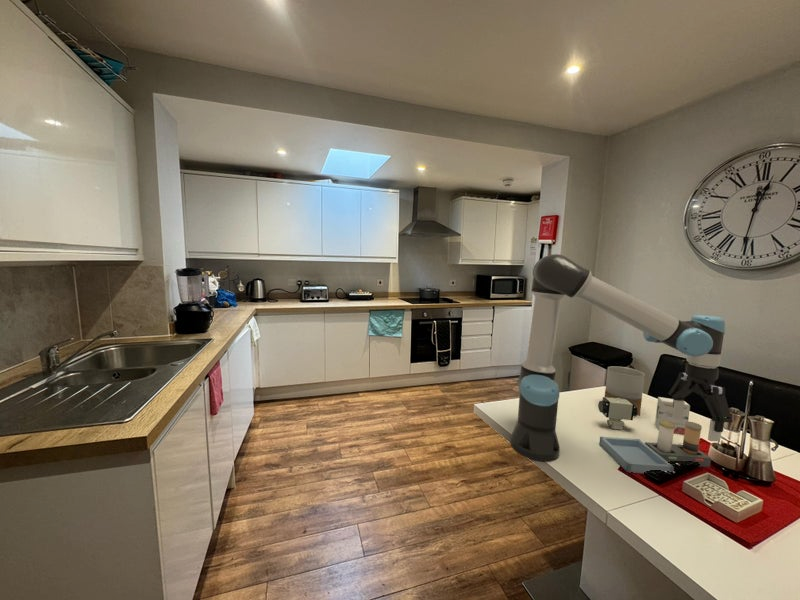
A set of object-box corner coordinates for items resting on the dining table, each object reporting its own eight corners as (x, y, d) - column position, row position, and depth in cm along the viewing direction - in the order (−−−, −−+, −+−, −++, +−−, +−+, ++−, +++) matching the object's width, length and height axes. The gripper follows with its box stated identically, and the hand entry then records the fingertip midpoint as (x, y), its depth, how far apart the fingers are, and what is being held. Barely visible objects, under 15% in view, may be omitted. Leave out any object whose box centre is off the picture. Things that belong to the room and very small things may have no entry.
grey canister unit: (604, 401, 146) (608, 364, 144) (639, 409, 138) (644, 370, 136) (602, 411, 135) (607, 371, 133) (640, 420, 128) (645, 378, 126)
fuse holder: (660, 464, 99) (661, 455, 99) (643, 450, 106) (645, 442, 106) (710, 467, 98) (712, 458, 98) (690, 453, 105) (692, 445, 105)
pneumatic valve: (635, 432, 118) (639, 402, 117) (601, 428, 120) (604, 398, 119) (627, 425, 123) (631, 396, 122) (595, 421, 126) (598, 392, 124)
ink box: (681, 429, 122) (685, 400, 121) (686, 435, 117) (691, 405, 116) (653, 424, 125) (657, 395, 124) (657, 429, 121) (661, 400, 120)
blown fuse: (687, 462, 100) (692, 427, 99) (677, 455, 104) (682, 421, 103) (699, 463, 100) (705, 427, 99) (689, 456, 104) (694, 421, 103)
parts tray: (627, 472, 94) (628, 463, 94) (599, 444, 109) (600, 436, 109) (672, 475, 94) (673, 466, 93) (638, 447, 108) (639, 439, 108)
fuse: (660, 460, 101) (665, 425, 100) (652, 453, 105) (656, 419, 103) (673, 461, 101) (678, 426, 99) (664, 454, 104) (669, 420, 103)
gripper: (757, 379, 86) (746, 452, 88) (682, 354, 111) (675, 411, 113) (727, 378, 87) (718, 450, 89) (660, 353, 111) (653, 410, 114)
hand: (694, 429), depth 101 cm, fingers open, 13 cm apart
